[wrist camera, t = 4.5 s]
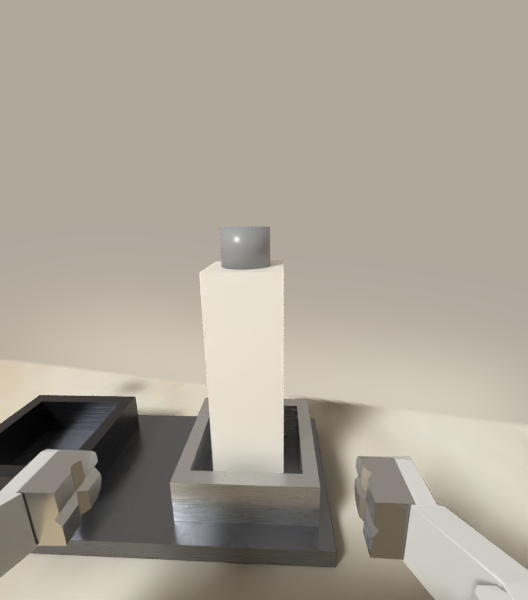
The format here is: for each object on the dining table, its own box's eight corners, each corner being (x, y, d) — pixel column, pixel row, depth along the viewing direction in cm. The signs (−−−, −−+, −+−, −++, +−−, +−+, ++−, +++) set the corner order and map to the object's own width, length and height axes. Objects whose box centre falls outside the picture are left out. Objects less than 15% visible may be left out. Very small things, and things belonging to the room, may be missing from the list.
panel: (313, 429, 24) (315, 390, 23) (335, 567, 15) (339, 510, 14) (51, 423, 26) (42, 386, 25) (-88, 547, 16) (-110, 494, 15)
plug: (283, 445, 21) (283, 225, 18) (283, 495, 18) (283, 227, 14) (226, 443, 22) (214, 227, 18) (214, 492, 18) (196, 229, 14)
